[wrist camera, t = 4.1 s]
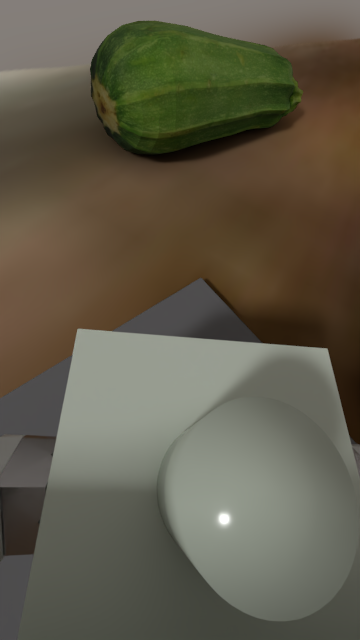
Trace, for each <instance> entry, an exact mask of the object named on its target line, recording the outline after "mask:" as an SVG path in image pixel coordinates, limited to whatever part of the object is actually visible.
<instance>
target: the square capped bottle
mask: <svg viewBox="0 0 360 640" xmlns="http://www.w3.org/2000/svg"><path fill="white" fill-rule="evenodd" d="M17 640H360V477H359V473H358V469H357V465H356V461H355V457H354V453H353V449H352V445H351V441H350V437H349V433H348V429H347V425H346V421H345V417H344V413H343V409H342V405H341V401H340V397H339V393H338V389H337V385H336V381H335V377H334V373H333V369H332V365H331V361H330V357H329V353H328V349H326V348H314V347H301V346H289V345H276V344H263V343H251V342H238V341H226V340H213V339H200V338H188V337H175V336H163V335H150V334H137V333H125V332H112V331H100V330H87V329H78V330H77V335H76V340H75V345H74V351H73V356H72V361H71V366H70V371H69V376H68V381H67V387H66V392H65V397H64V402H63V407H62V412H61V417H60V422H59V428H58V433H57V438H56V443H55V448H54V453H53V458H52V463H51V469H50V474H49V479H48V484H47V489H46V494H45V499H44V505H43V510H42V515H41V520H40V525H39V530H38V535H37V540H36V546H35V551H34V556H33V561H32V566H31V571H30V576H29V581H28V587H27V592H26V597H25V602H24V607H23V612H22V617H21V623H20V628H19V633H18V638H17Z"/></svg>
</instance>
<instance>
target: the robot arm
mask: <svg viewBox="0 0 360 640" xmlns="http://www.w3.org/2000/svg"><path fill="white" fill-rule="evenodd" d="M56 438H57V437H56V436H36V435H10V434H4V435H3V436H1V437H0V562H1V561H2V560H3V556H12V555H30V554H34V551H35V546H36V540H37V535H38V530H39V525H40V520H41V515H42V510H43V505H44V499H45V494H46V489H47V484H48V479H49V474H50V469H51V463H52V458H53V453H54V448H55V443H56ZM351 445H352V449H353V453H354V457H355V461H356V465H357V469H358V473H359V477H360V444H351Z"/></svg>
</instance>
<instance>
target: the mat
mask: <svg viewBox="0 0 360 640" xmlns="http://www.w3.org/2000/svg"><path fill="white" fill-rule="evenodd" d="M112 332H125V333H137V334H150V335H163V336H175V337H188V338H200V339H213V340H226V341H238V342H251V343H262V342H261V341H260V340H259V339H258V338H257V337H256V336H255V335H254V334H253V333H252V332H251V330H250V329H249V328H248V327H247V326H246V325H245V324H244V323H243V322H242V321H241V320H240V319H239V318H238V317H237V316H236V314H235V313H234V312H233V311H232V310H231V309H230V308H229V307H228V306H227V305H226V304H225V303H224V302H223V301H222V300H221V298H220V297H219V296H218V295H217V294H216V293H215V292H214V291H213V290H212V289H211V288H210V287H209V286H208V285H207V284H206V282H205V281H204V280H203V279H202V278H200V279H198V280H196V281H195V282H193V283H191V284H190V285H188V286H186V287H185V288H183V289H181V290H180V291H178V292H176V293H175V294H173V295H171V296H170V297H168V298H166V299H165V300H163V301H161V302H160V303H158V304H156V305H155V306H153V307H151V308H150V309H148V310H146V311H145V312H143V313H141V314H140V315H138V316H136V317H135V318H133V319H132V320H130V321H128V322H127V323H125V324H123V325H122V326H120V327H118V328H117V329H115V330H113V331H112ZM72 356H73V355H72ZM72 356H70V357H68V358H67V359H65V360H63V361H62V362H60V363H58V364H57V365H55V366H53V367H52V368H50V369H48V370H47V371H45V372H43V373H42V374H40V375H38V376H37V377H35V378H33V379H32V380H30V381H28V382H27V383H25V384H23V385H22V386H20V387H18V388H17V389H15V390H13V391H12V392H10V393H8V394H7V395H5V396H3V397H2V398H0V437H1V436H3V435H4V434H10V435H36V436H56V437H57V433H58V428H59V422H60V417H61V412H62V407H63V402H64V397H65V392H66V387H67V381H68V376H69V371H70V366H71V361H72ZM349 437H350V436H349ZM350 441H351V444H356V442H355V441H354V440H353V439H352V438H351V437H350ZM33 556H34V554H30V555H12V556H3V560H2V561H1V562H0V640H17V638H18V633H19V628H20V623H21V617H22V612H23V607H24V602H25V597H26V592H27V587H28V581H29V576H30V571H31V566H32V561H33Z"/></svg>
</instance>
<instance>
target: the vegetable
mask: <svg viewBox="0 0 360 640" xmlns="http://www.w3.org/2000/svg"><path fill="white" fill-rule="evenodd" d="M90 72H91V97H92V99H93V101H94V103H95V107H96V112H97V117H98V118H99V120H100V121H101V122H102V124H103V125H104V128H105V130H106V132H107V134H108V135H109V136H111V137H112V138H113V139H114V140H115V141H116V142H117V143H118V144H119V145H120V146H121V147H122V148H124V149H125V150H127V151H130V152H133V153H136V154H153V155H155V154H162V153H168V152H174V151H177V150H180V149H183V148H186V147H189V146H192V145H195V144H199V143H202V142H206V141H210V140H214V139H217V138H221V137H225V136H229V135H233V134H236V133H239V132H241V131H245V130H248V129H254V128H269V127H271V126H274V125H275V124H276V123H277V122H278V121H279V120H280V119H281V117H283V116H286V115H287V114H288V113H290V112H292V111H293V110H294V109H295V108H296V106H297V104H299V103H300V102H301V96H302V94H303V90H301V89H299V88H298V82H297V81H295V80H294V78H293V76H292V75H293V71H292V66H291V63H290V62H289V61H288V60H287V59H285V58H283V57H282V56H280V55H279V54H278V53H277V52H276V51H275V50H274V49H273V48H270V47H268V46H265V45H260V44H256V43H251V42H246V41H241V40H236V39H231V38H227V37H223V36H219V35H214V34H211V33H207V32H204V31H201V30H198V29H194V28H191V27H188V26H183V25H177V24H171V23H165V22H159V21H137V22H133V23H129V24H125V25H122V26H121V27H119V28H118V29H116V30H115V31H113V32H112V33H111V34H109V35H108V36H107V37H106V38H105V39H104V41H103V42H102V43H101V45H100V46H99V48H98V49H97V51H96V53H95V55H94V57H93V59H92V62H91V68H90Z"/></svg>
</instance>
